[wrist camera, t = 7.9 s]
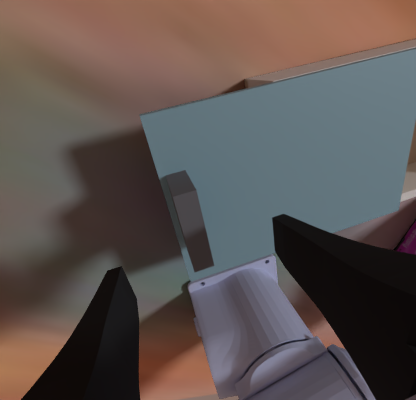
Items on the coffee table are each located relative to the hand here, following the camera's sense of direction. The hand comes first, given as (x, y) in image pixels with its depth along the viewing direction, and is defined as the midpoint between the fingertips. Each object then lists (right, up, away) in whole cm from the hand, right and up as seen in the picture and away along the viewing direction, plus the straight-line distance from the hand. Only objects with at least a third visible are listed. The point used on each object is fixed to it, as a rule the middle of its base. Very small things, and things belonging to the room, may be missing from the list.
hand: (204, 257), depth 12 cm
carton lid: (+6, +5, +6) cm, 10 cm away
